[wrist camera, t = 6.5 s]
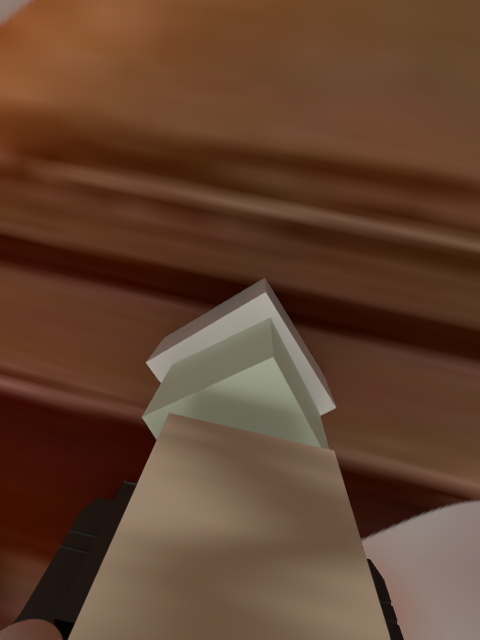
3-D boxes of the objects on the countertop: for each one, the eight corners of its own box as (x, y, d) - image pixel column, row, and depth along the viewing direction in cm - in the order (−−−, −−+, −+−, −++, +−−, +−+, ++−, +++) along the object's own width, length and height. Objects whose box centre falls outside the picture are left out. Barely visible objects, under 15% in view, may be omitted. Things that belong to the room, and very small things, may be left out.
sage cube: (270, 317, 18) (273, 357, 13) (318, 409, 19) (337, 476, 15) (172, 364, 19) (142, 416, 14) (223, 449, 20) (211, 524, 16)
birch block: (334, 450, 11) (453, 849, 4) (290, 575, 12) (325, 1024, 5) (169, 412, 11) (16, 754, 4) (143, 542, 12) (-1, 957, 5)
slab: (264, 276, 22) (265, 291, 18) (323, 374, 23) (336, 407, 19) (165, 336, 23) (145, 362, 19) (226, 424, 24) (220, 465, 21)
